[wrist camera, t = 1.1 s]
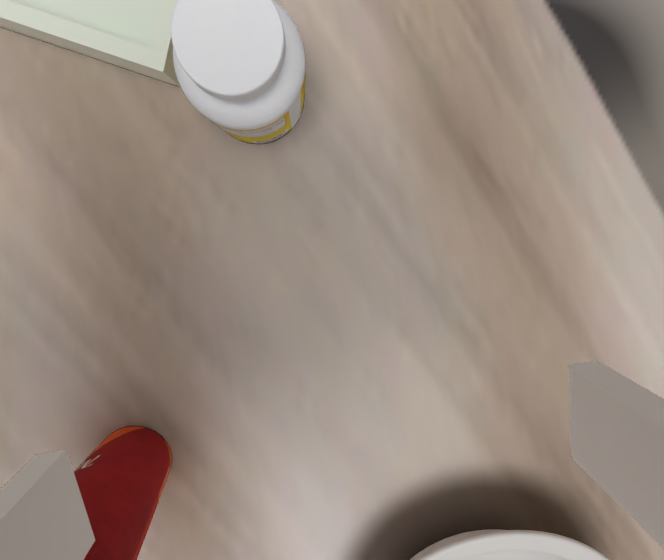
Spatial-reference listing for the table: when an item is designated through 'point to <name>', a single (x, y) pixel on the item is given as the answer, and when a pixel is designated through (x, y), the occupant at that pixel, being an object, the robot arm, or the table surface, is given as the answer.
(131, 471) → the paper cup
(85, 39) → the tray
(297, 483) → the table surface
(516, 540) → the soup bowl
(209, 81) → the pill bottle
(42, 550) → the robot arm
